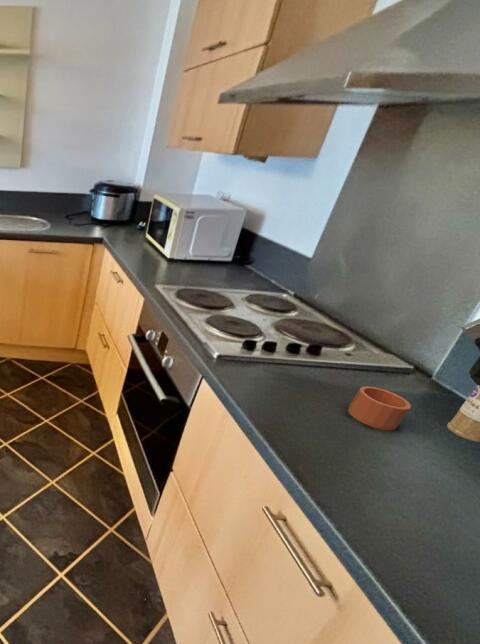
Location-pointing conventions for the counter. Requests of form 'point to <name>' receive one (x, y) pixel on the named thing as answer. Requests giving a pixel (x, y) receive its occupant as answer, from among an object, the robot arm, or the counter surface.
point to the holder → (378, 408)
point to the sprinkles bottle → (468, 418)
